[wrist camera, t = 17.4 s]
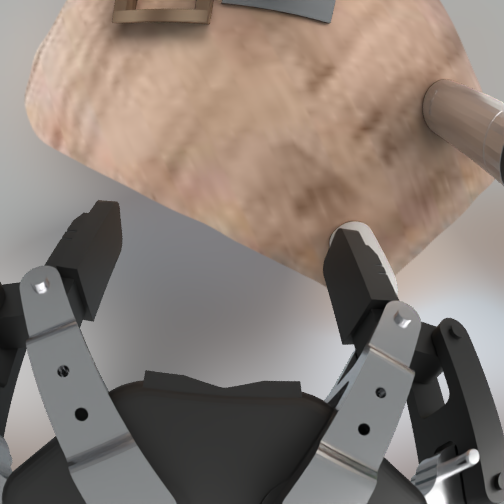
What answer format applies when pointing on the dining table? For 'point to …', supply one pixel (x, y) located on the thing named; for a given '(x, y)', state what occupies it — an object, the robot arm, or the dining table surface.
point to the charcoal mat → (293, 7)
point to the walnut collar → (161, 13)
